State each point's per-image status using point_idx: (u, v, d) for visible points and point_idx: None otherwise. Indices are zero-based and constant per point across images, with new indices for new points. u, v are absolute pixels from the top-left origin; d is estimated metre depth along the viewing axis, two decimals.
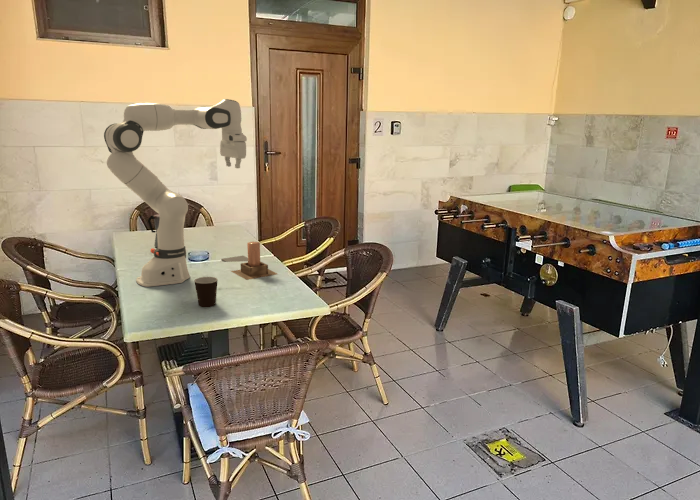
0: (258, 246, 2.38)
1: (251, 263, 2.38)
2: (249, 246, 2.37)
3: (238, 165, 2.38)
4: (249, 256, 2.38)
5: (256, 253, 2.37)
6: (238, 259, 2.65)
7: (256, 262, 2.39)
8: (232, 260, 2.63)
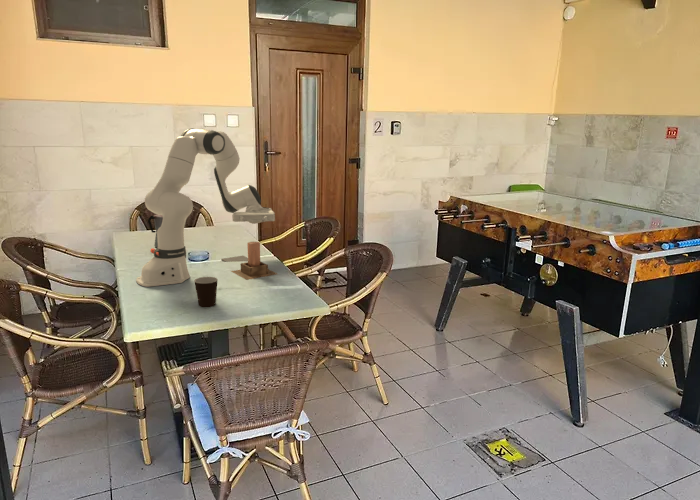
0: (258, 246, 2.38)
1: (251, 263, 2.38)
2: (249, 246, 2.37)
3: (265, 219, 2.51)
4: (249, 256, 2.38)
5: (256, 253, 2.37)
6: (238, 259, 2.65)
7: (256, 262, 2.39)
8: (232, 260, 2.63)
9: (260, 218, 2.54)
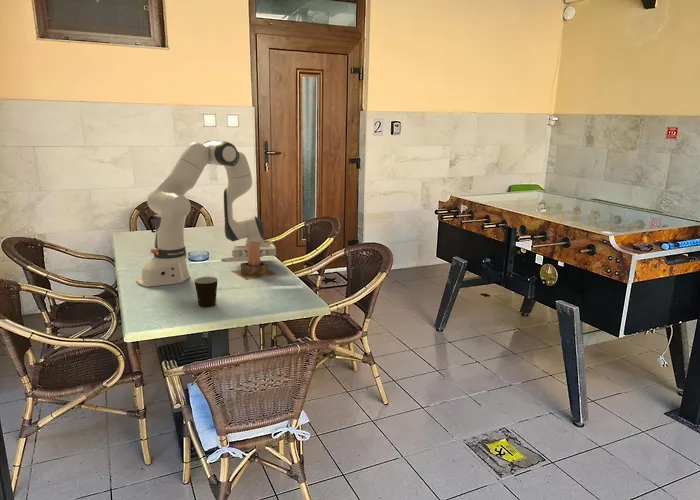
0: (258, 246, 2.38)
1: (251, 263, 2.38)
2: (249, 246, 2.37)
3: (263, 254, 2.41)
4: (249, 256, 2.38)
5: (256, 253, 2.37)
6: (238, 259, 2.65)
7: (256, 262, 2.38)
8: (232, 260, 2.63)
9: None
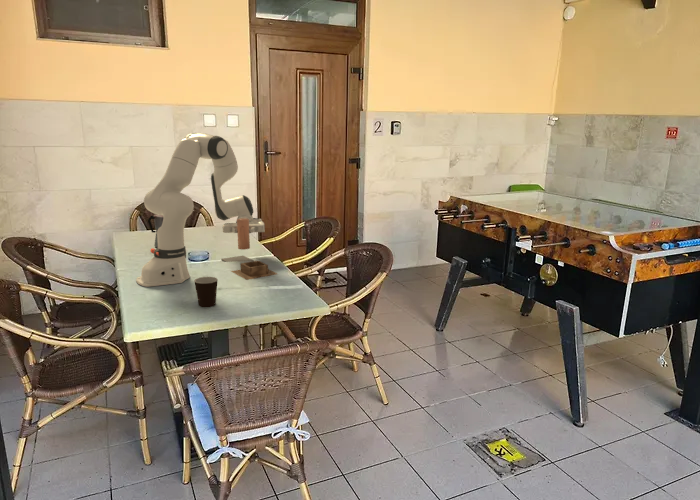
0: (247, 222, 2.49)
1: (240, 239, 2.50)
2: (238, 222, 2.48)
3: (252, 230, 2.53)
4: (238, 232, 2.50)
5: (245, 229, 2.49)
6: (238, 259, 2.65)
7: (245, 238, 2.50)
8: (232, 260, 2.63)
9: None
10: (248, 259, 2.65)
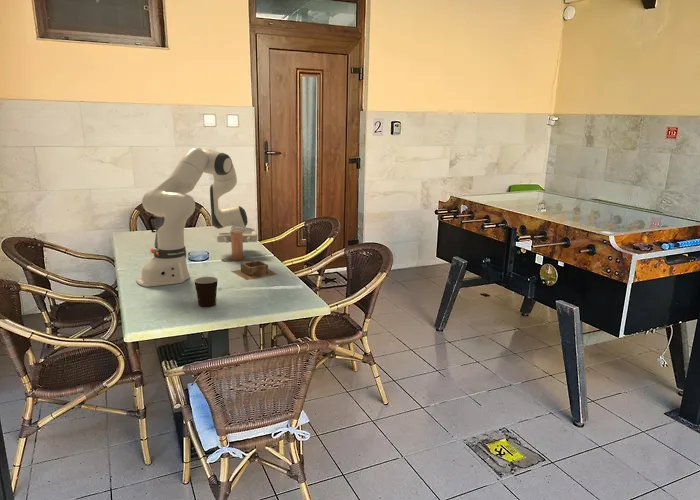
0: (241, 235, 2.60)
1: (234, 251, 2.61)
2: (232, 235, 2.59)
3: (248, 240, 2.64)
4: (232, 244, 2.61)
5: (239, 241, 2.60)
6: None
7: (239, 250, 2.61)
8: (232, 260, 2.63)
9: (243, 239, 2.67)
10: (248, 259, 2.65)
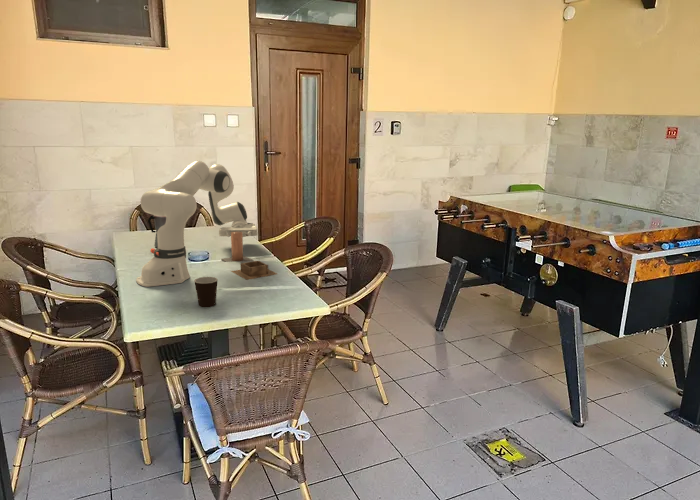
0: (240, 235, 2.60)
1: (234, 251, 2.61)
2: (232, 235, 2.59)
3: (248, 234, 2.76)
4: (232, 244, 2.60)
5: (238, 241, 2.60)
6: None
7: (239, 250, 2.61)
8: None
9: (244, 233, 2.80)
10: (248, 259, 2.65)
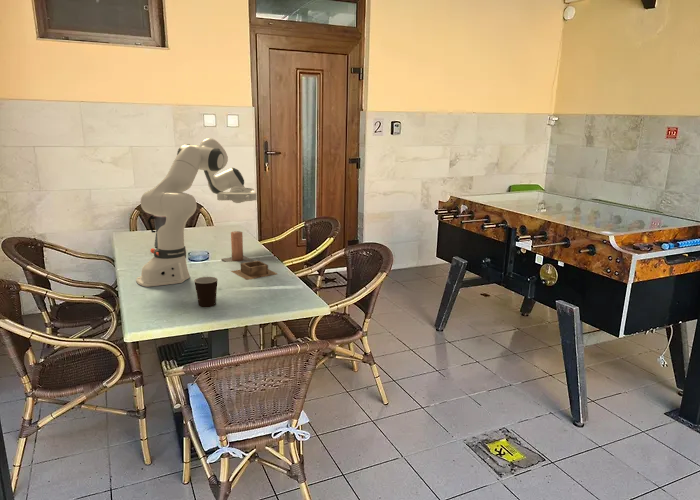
0: (241, 235, 2.60)
1: (234, 251, 2.61)
2: (232, 235, 2.59)
3: (247, 198, 2.71)
4: (232, 244, 2.61)
5: (238, 241, 2.60)
6: None
7: (239, 250, 2.61)
8: None
9: (243, 197, 2.75)
10: (248, 259, 2.65)
